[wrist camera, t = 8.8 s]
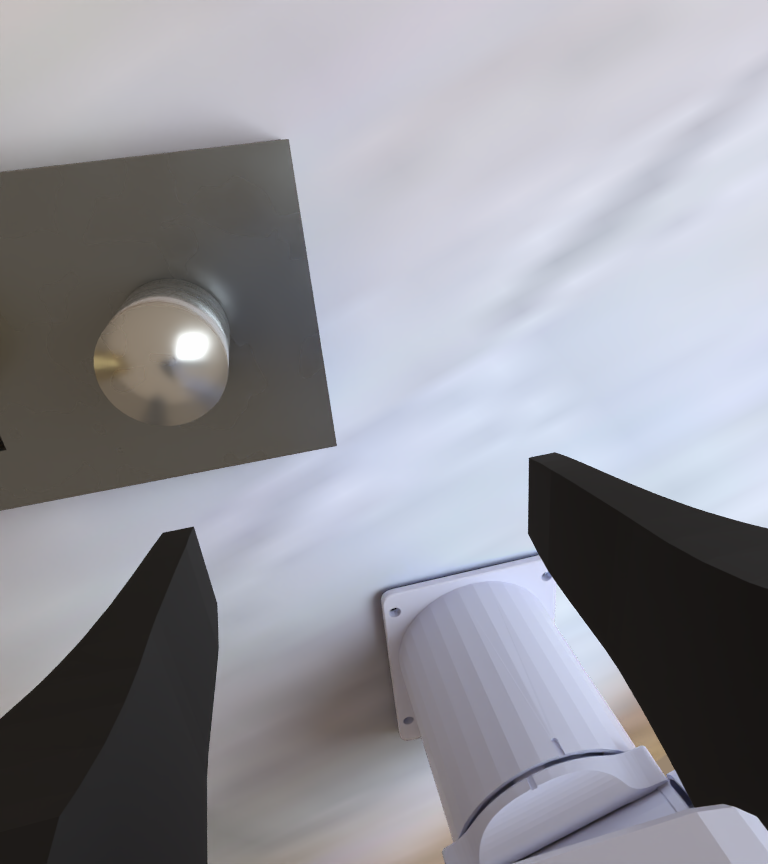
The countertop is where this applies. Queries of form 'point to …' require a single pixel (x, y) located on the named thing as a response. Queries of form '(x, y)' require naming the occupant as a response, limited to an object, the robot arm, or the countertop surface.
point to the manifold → (154, 321)
